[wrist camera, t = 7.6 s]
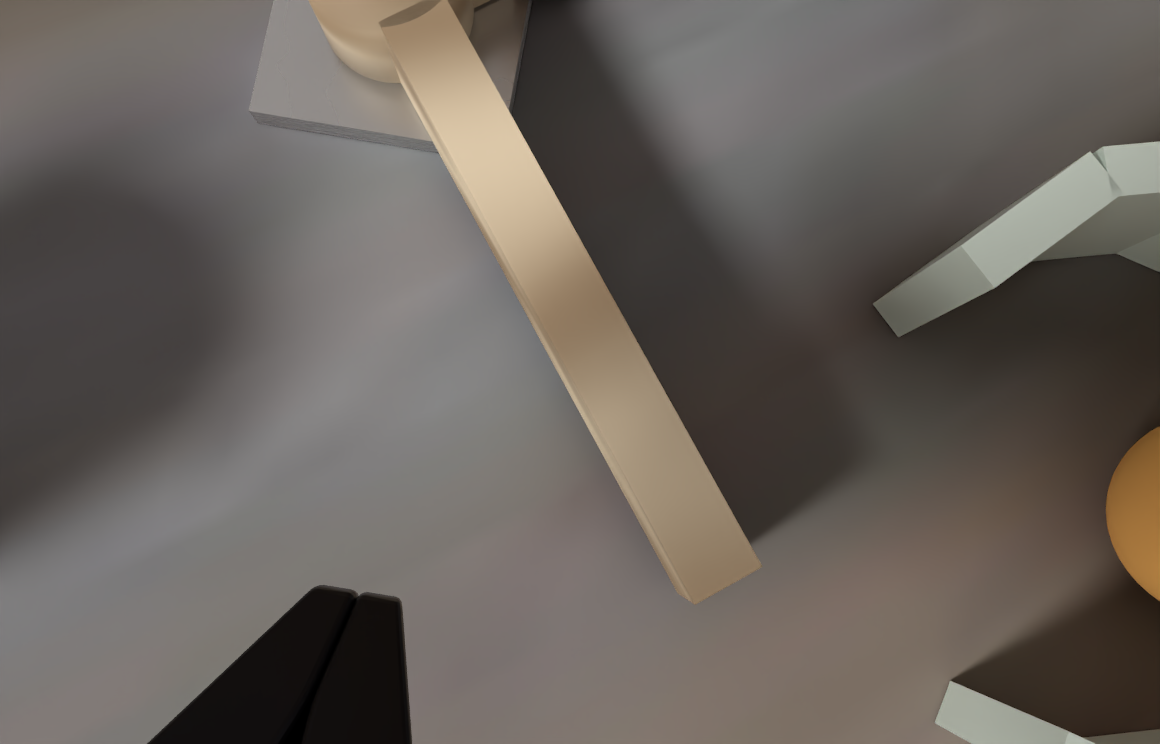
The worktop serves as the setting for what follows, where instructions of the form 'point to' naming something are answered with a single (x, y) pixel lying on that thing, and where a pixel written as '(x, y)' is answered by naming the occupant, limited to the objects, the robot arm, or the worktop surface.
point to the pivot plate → (356, 103)
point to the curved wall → (982, 262)
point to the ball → (1137, 512)
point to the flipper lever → (550, 278)
